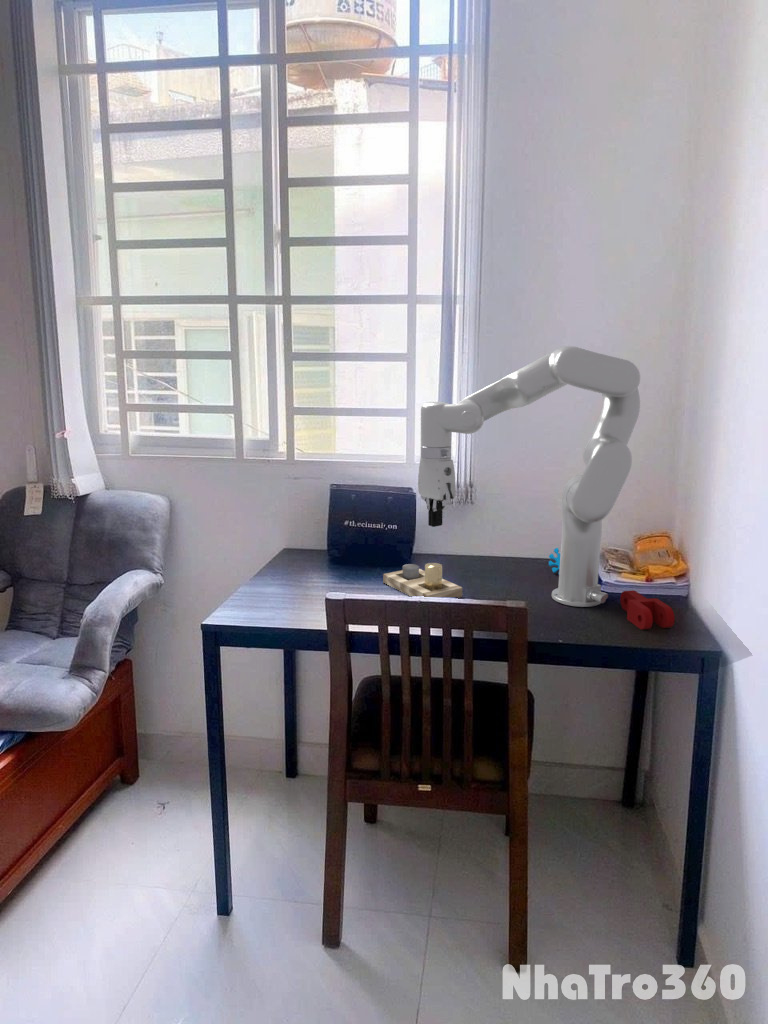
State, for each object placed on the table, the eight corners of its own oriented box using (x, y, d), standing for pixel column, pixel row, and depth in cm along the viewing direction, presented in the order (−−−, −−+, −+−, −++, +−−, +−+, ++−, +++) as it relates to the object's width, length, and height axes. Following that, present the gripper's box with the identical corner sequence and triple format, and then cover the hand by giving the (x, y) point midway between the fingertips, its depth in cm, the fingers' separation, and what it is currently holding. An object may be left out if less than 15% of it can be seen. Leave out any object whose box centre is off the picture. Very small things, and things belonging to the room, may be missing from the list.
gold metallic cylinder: (445, 596, 188) (445, 566, 186) (431, 599, 185) (431, 569, 184) (434, 591, 191) (435, 561, 190) (421, 594, 189) (421, 564, 187)
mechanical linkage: (673, 630, 166) (675, 610, 165) (644, 633, 165) (646, 612, 164) (637, 606, 182) (639, 587, 181) (610, 608, 180) (612, 588, 179)
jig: (462, 596, 187) (462, 578, 186) (427, 605, 181) (427, 585, 180) (416, 575, 204) (416, 558, 202) (383, 582, 198) (383, 565, 197)
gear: (542, 568, 205) (555, 539, 209) (544, 578, 210) (557, 549, 213) (581, 580, 200) (593, 550, 204) (582, 590, 204) (594, 560, 208)
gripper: (467, 455, 176) (466, 529, 180) (429, 448, 188) (429, 517, 192) (442, 458, 172) (441, 534, 176) (405, 450, 184) (406, 521, 188)
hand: (435, 525), depth 184 cm, fingers closed
